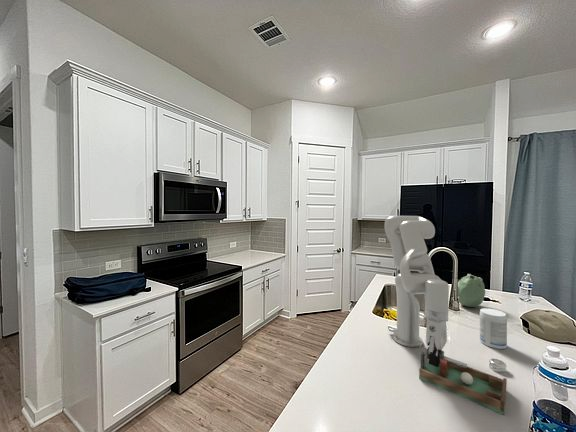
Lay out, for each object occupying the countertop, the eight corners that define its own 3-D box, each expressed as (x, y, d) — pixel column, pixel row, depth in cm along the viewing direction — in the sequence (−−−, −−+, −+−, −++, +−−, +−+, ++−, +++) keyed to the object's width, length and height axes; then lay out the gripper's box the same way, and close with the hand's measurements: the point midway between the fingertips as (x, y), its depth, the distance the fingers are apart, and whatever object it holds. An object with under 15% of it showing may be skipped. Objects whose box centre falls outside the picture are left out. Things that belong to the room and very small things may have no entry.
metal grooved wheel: (509, 371, 93) (494, 364, 98) (509, 364, 93) (494, 356, 98) (500, 374, 91) (486, 366, 96) (501, 366, 91) (486, 359, 96)
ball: (459, 383, 85) (459, 373, 85) (461, 378, 87) (461, 368, 87) (472, 388, 82) (472, 378, 82) (473, 383, 85) (474, 373, 85)
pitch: (415, 376, 90) (415, 360, 90) (426, 360, 100) (426, 345, 100) (504, 415, 73) (504, 395, 73) (506, 390, 83) (506, 373, 83)
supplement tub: (509, 345, 111) (510, 313, 111) (502, 352, 106) (503, 318, 106) (483, 336, 119) (484, 306, 119) (475, 342, 114) (476, 310, 114)
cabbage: (447, 304, 160) (448, 274, 159) (462, 299, 169) (463, 270, 169) (475, 313, 146) (476, 280, 146) (490, 307, 156) (491, 276, 155)
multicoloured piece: (426, 369, 92) (426, 349, 92) (428, 365, 94) (429, 346, 94) (465, 384, 84) (466, 363, 84) (467, 380, 86) (467, 359, 86)
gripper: (442, 324, 83) (441, 378, 83) (452, 310, 95) (451, 357, 95) (418, 317, 88) (417, 368, 88) (430, 305, 100) (430, 350, 100)
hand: (435, 362), depth 91 cm, fingers closed on multicoloured piece, 3 cm apart
